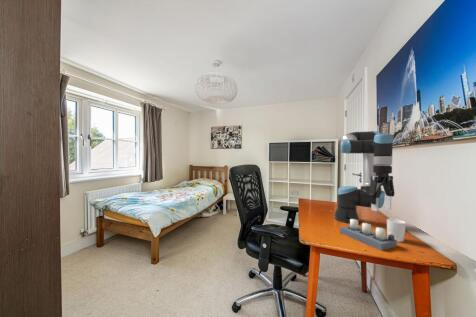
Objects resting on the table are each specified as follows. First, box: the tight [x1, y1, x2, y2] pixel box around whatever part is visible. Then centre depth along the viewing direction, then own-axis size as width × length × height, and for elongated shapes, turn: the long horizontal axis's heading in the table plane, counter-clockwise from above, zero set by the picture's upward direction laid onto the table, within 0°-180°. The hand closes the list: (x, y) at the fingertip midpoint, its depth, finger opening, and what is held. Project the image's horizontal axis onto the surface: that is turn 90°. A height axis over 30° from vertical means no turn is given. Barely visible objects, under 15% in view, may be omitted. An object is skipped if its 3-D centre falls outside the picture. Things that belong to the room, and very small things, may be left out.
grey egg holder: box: [339, 225, 398, 251], centre depth 102 cm, size 12×22×6 cm, turn 23°
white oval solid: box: [361, 222, 372, 235], centre depth 102 cm, size 4×4×5 cm
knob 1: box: [349, 219, 359, 230], centre depth 108 cm, size 4×4×5 cm
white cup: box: [386, 218, 407, 243], centre depth 102 cm, size 8×8×10 cm
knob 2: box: [375, 226, 387, 241], centre depth 95 cm, size 4×4×5 cm
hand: (381, 209), depth 95 cm, fingers open, 10 cm apart
